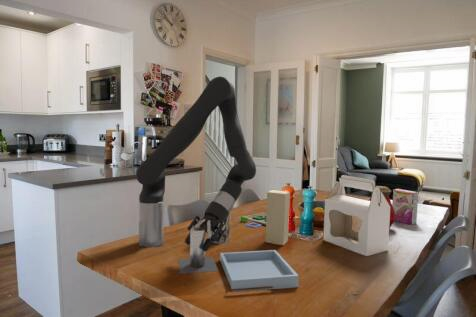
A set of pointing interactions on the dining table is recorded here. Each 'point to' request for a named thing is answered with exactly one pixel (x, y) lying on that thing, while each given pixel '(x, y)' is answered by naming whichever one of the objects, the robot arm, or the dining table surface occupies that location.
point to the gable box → (370, 212)
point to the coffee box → (226, 234)
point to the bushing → (197, 247)
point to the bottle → (386, 193)
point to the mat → (186, 268)
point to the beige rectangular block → (277, 217)
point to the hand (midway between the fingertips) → (194, 246)
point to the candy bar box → (405, 206)
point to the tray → (258, 270)
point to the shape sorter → (256, 219)
